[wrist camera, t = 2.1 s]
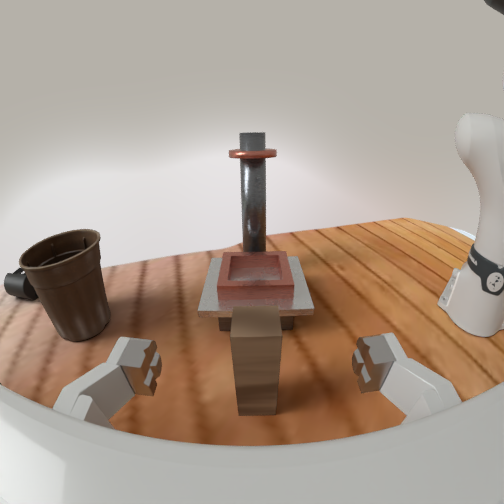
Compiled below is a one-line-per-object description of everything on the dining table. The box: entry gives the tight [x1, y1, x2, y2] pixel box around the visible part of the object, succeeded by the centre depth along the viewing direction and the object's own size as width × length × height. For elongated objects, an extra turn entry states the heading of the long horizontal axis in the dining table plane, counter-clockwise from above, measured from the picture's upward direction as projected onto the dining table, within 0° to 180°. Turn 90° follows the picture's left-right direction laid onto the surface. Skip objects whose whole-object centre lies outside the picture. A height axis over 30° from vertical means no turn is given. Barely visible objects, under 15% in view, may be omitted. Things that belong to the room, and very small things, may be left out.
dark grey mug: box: [4, 268, 38, 300], centre depth 48 cm, size 10×7×7 cm
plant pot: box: [19, 229, 110, 341], centre depth 40 cm, size 16×16×16 cm
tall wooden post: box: [230, 305, 282, 416], centre depth 28 cm, size 4×4×14 cm
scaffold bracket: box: [198, 133, 314, 331], centre depth 46 cm, size 26×17×30 cm, turn 0°
